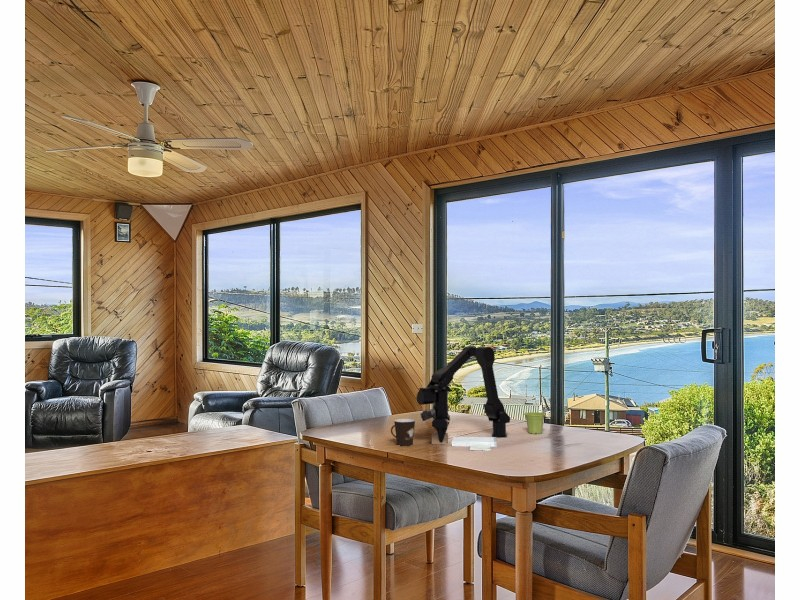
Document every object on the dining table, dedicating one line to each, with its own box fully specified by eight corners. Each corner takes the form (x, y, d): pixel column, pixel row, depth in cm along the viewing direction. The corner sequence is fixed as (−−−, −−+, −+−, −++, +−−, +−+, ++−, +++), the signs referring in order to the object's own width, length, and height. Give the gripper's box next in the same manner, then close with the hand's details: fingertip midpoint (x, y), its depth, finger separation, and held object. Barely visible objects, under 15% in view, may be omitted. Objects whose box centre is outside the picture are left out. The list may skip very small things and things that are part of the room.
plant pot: (520, 433, 277) (519, 413, 278) (532, 430, 284) (532, 411, 284) (537, 435, 270) (537, 415, 271) (550, 433, 277) (549, 413, 277)
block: (433, 442, 258) (433, 432, 258) (447, 442, 257) (447, 432, 257) (431, 444, 253) (431, 434, 253) (446, 444, 252) (446, 435, 252)
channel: (453, 441, 259) (453, 436, 259) (496, 441, 257) (496, 437, 257) (451, 446, 249) (451, 441, 249) (496, 446, 247) (496, 441, 247)
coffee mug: (410, 442, 258) (410, 418, 259) (418, 446, 250) (418, 421, 251) (384, 444, 254) (384, 420, 254) (391, 448, 246) (391, 423, 246)
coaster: (470, 446, 248) (470, 444, 248) (490, 446, 247) (490, 444, 247) (469, 450, 240) (469, 448, 240) (490, 450, 239) (490, 448, 239)
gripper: (423, 400, 266) (424, 436, 265) (419, 405, 247) (419, 445, 247) (449, 400, 264) (450, 437, 264) (447, 406, 246) (447, 445, 245)
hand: (441, 441), depth 255 cm, fingers closed on block, 5 cm apart
